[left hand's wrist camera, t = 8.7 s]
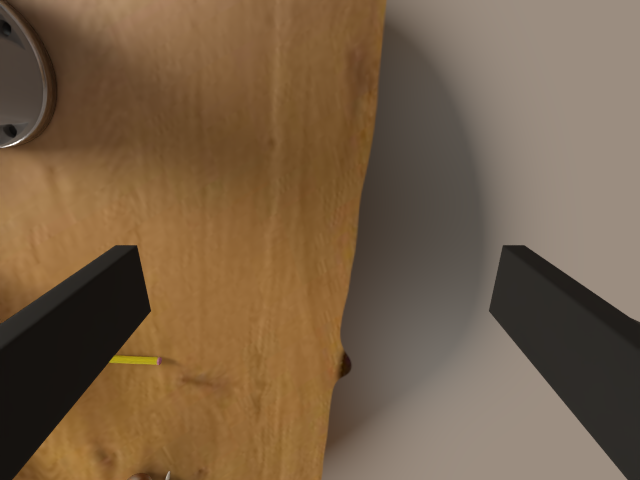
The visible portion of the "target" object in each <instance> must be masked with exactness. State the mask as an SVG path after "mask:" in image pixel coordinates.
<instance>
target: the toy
mask: <svg viewBox="0 0 640 480" xmlns="http://www.w3.org/2000/svg"><path fill="white" fill-rule="evenodd" d="M169 478H170V471H169V472H168V474H167V477H166V479H165V480H169ZM127 480H153V479H152V478H151V477H150V476H149V475H147V474H143V473H139V474H135V475H133V476H131V477H129V478H128V479H127Z"/></svg>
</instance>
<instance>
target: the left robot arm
mask: <svg viewBox="0 0 640 480" xmlns="http://www.w3.org/2000/svg"><path fill="white" fill-rule="evenodd" d="M56 96H57V89H56V79H55V74H54V70H53V66H52V63H51V60H50V58H49V55H48V53H47V51H46V49H45V47H44V45H43V43H42V41H41V40H40V38H39V36H38V35H37V33H36V32H35V31H34V29H33V28H32V27H31V25H30V24H29V23H28V22H27V20H26V19H25V18H24V17H23V16H22V15H21V14H20V13H19V12H18V11H17V10H16V9H14V8H13V7H12V6H11V5H10V4H8V3H7V2H6V1H5V0H0V148H4V147H12V146H17V145H21V144H25V143H27V142H29V141H31V140H33V139H34V138H36V137H37V136H38V135H40V134H41V133H42V132H43V131H44V130H45V128H46V127H47V125H48V124H49V122H50V120H51V118H52V116H53V113H54V109H55V105H56ZM150 312H151V309H150V304H149V299H148V294H147V290H146V285H145V280H144V276H143V271H142V266H141V262H140V257H139V252H138V248H137V245H116V246H114V247H113V248H111V249H110V250H108V251H107V252H105V253H104V254H102V255H101V256H99V257H98V258H97V259H95V260H94V261H92V262H91V263H89V264H88V265H86V266H85V267H83V268H82V269H80V270H79V271H78V272H76V273H75V274H73V275H72V276H70V277H69V278H67V279H66V280H64V281H63V282H61V283H60V284H59V285H57V286H56V287H54V288H53V289H51V290H50V291H48V292H47V293H45V294H44V295H42V296H41V297H40V298H38V299H37V300H35V301H34V302H32V303H31V304H29V305H28V306H26V307H25V308H23V309H22V310H21V311H19V312H18V313H16V314H15V315H13V316H12V317H10V318H9V319H7V320H6V321H4V322H3V323H1V324H0V480H12V479H13V478H14V477H15V476H16V475H17V473H18V472H19V471H20V470H21V469H22V467H23V466H24V465H25V464H26V462H27V461H28V460H29V459H30V458H31V456H32V455H33V454H34V453H35V452H36V450H37V449H38V448H39V447H40V445H41V444H42V443H43V442H44V441H45V439H46V438H47V437H48V436H49V434H50V433H51V432H52V431H53V430H54V428H55V427H56V426H57V425H58V424H59V422H60V421H61V420H62V419H63V417H64V416H65V415H66V414H67V413H68V411H69V410H70V409H71V408H72V407H73V405H74V404H75V403H76V402H77V400H78V399H79V398H80V397H81V396H82V394H83V393H84V392H85V391H86V389H87V388H88V387H89V386H90V385H91V383H92V382H93V381H94V380H95V379H96V377H97V376H98V375H99V374H100V372H101V371H102V370H103V369H104V368H105V366H106V365H107V364H108V363H109V362H110V360H111V359H112V358H113V357H114V355H115V354H116V353H117V352H118V351H119V349H120V348H121V347H122V346H123V344H124V343H125V342H126V341H127V340H128V338H129V337H130V336H131V335H132V334H133V332H134V331H135V330H136V329H137V327H138V326H139V325H140V324H141V323H142V321H143V320H144V319H145V318H146V317H147V315H148V314H149V313H150ZM489 312H490V313H491V314H492V315H493V316H494V318H495V319H496V320H497V321H498V323H499V324H500V325H501V326H502V327H503V329H504V330H505V331H506V332H507V334H508V335H509V336H510V337H511V338H512V340H513V341H514V342H515V343H516V344H517V346H518V347H519V348H520V349H521V351H522V352H523V353H524V354H525V355H526V357H527V358H528V359H529V360H530V362H531V363H532V364H533V365H534V366H535V368H536V369H537V370H538V371H539V372H540V374H541V375H542V376H543V377H544V379H545V380H546V381H547V382H548V383H549V385H550V386H551V387H552V388H553V389H554V391H555V392H556V393H557V394H558V396H559V397H560V398H561V399H562V400H563V402H564V403H565V404H566V405H567V407H568V408H569V409H570V410H571V411H572V413H573V414H574V415H575V416H576V417H577V419H578V420H579V421H580V422H581V424H582V425H583V426H584V427H585V428H586V430H587V431H588V432H589V433H590V434H591V436H592V437H593V438H594V439H595V441H596V442H597V443H598V444H599V445H600V447H601V448H602V449H603V450H604V451H605V453H606V454H607V455H608V456H609V458H610V459H611V460H612V461H613V462H614V464H615V465H616V466H617V467H618V469H619V470H620V471H621V472H622V473H623V475H624V476H625V477H626V478H627V479H628V480H640V322H638V321H636V320H634V319H632V318H630V317H628V316H627V315H625V314H624V313H622V312H621V311H619V310H618V309H617V308H615V307H614V306H612V305H611V304H609V303H608V302H606V301H605V300H603V299H602V298H600V297H599V296H598V295H596V294H595V293H593V292H592V291H590V290H589V289H587V288H586V287H584V286H583V285H581V284H580V283H578V282H577V281H576V280H574V279H573V278H571V277H570V276H568V275H567V274H565V273H564V272H562V271H561V270H560V269H558V268H557V267H555V266H554V265H552V264H551V263H549V262H548V261H546V260H545V259H543V258H542V257H540V256H539V255H538V254H536V253H535V252H533V251H532V250H530V249H529V248H527V247H526V246H524V245H503V248H502V252H501V257H500V262H499V267H498V271H497V276H496V280H495V285H494V290H493V294H492V299H491V304H490V309H489Z"/></svg>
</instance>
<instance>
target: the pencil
mask: <svg viewBox="0 0 640 480" xmlns="http://www.w3.org/2000/svg"><path fill="white" fill-rule="evenodd" d="M161 361H162V358H161V357H141V356H116V355H114V357H113V358H112V359H111V360H110V362H109V363H130V364H155V365H160V364H161Z"/></svg>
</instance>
